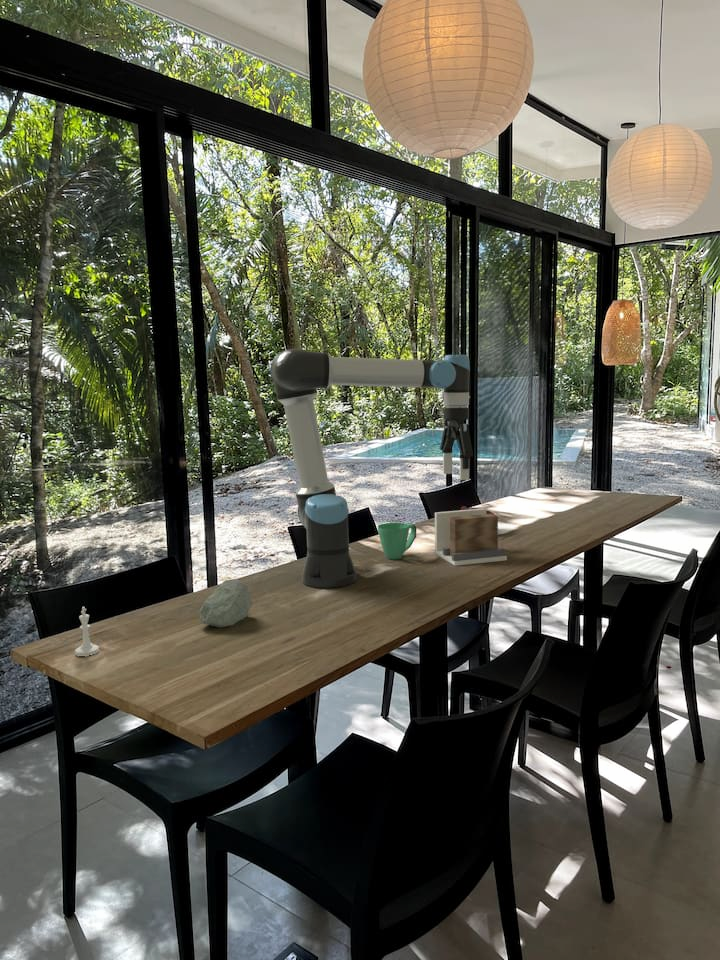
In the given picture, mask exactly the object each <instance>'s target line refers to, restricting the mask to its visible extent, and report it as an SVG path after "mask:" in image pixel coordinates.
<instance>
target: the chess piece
mask: <svg viewBox="0 0 720 960" xmlns="http://www.w3.org/2000/svg"><path fill="white" fill-rule="evenodd" d="M86 611H87V608H85V606H82V608H81V611H80V614H81V615H79V616H78V618H79V620H80V623H81V625H80V626H79V629H80V630H82V642H81V643H82V644H80V646H79V647H77V648H76V649H74V655H75V656H76V655H77V656H76V657H79V656H85V657H90V656H89V655H91V656H93V654H94V655H96V654H98V653H99V652H100V647H99V646H98V645H96V644H93V643H92V642H91V639H90V634H89V629H90V628H91V625H90V624H88V622H89V620H90V619H89V618H90V614H87V613H86Z"/></svg>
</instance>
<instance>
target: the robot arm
mask: <svg viewBox="0 0 720 960" xmlns="http://www.w3.org/2000/svg"><path fill="white" fill-rule="evenodd" d="M470 364H471V363H470V358H469V356H468V355H467V354H446V355H445V356H444V358H443V360H442V359H440V360H439V359H437V360H427V359H424V360H423V359H422V360H421V359H406V358H405V359H403V358H402V359H400V358H378V357H377V358H374V357H372V358H370V357H353V356H352V357H350V356H349V357H346V356H332V355H331V354H330V353H329V352H318V351H312V350H307V349H303V348H290V349H285V350H282V351H280V352H279V353H278V354H277V355H276V356H275V357H274V358H273V360H272V362H271V364H270V370H269V372H270V377H271V380H272V382H273V384H274V389H275V395H276V398H277V399H276V400H277V402H278V403H280V404H282V405H283V409H284V413H285V418H286V423H287V427H288V434H289V439H290V443H291V444H290V445H291V448H292V454H293V459H294V464H295V469H296V475H297V480H298V488H297V489H296V490H295V497H296V502H297V516H298V519H299V522H300V523H301V524H302V526H303V527H304V529H306V531H305V532H306V547H307V550H306V551H307V552H306V558H305V561H304V565H303V569H302V573H301V581H302V584H304V585H306V586H308V587H312V588H323V589H324V588H325V589H326V588H328V589H329V588H339V587H345V586H348V585H351V584H352V583H355V582H356V581H357V571H356V568H355V565H354V563H353V560H352V557H351V554H350V539H349V538H350V537H349V534H350V533H349V507H348V501H347V500H346V498H344V497H343V496H341V495H337V494H336V488H335V484H333V483H332V482H331V481H329V478H328V473H327V467H326V461H325V457H324V456H325V455H324V451H323V445H322V440H321V434H320V430H319V424H318V420H317V419H318V418H317V413H316V407H315V401H314V400H315V398H316V396H317V394H318V389H325V390H326V389H329V388H330V387H331V386H354V387H355V386H357V387H364V386H365V387H395V388H396V387H398V388H415V389H418V388H423V389H424V388H425V389H426V388H427V389H429V388H430V389H443V406H444V408H443V419H444V422H443V433H442V436H441V437H442V438H441V443H440V447H439V450H441V452H442V454H443V455H442V474H443V475H450V474H451V475H452V474H453V446H454V443H455V441H456V443H457V447H458V451H459V453H460V455H459V481H468V480H470V458H471V457H473V456H474V450H473V447H472V442H471V441H472V439H471V434H470V424H469V423H465V421H467V420H470V419H469V418H470V409H469V407H468V406H469V405H470V398H471V395H470V372H471V368H470V367H471V366H470Z"/></svg>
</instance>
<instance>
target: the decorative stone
mask: <svg viewBox="0 0 720 960" xmlns="http://www.w3.org/2000/svg"><path fill="white" fill-rule="evenodd" d="M252 604H253V602H252V599H251V592H250V591H249V588H248V585H247V584H245V582H242V581H241V580H239V579H237V578H232V579H226V580H224V581H222V582H221V584H220V585H219V586H218V587H216V588H215V590H214V591H213V593H212V594H211V595H209V596H208V598H207V599H206V600H205V602H204V603H203V605H202V606H201V608H200V609H199V612H198V614H199V620H200V622H201V623H202V624H204V625H209V626H210V627H214V628H218V629H219V628H222V629H223V628H226V627H232V626H234V625H235V624H236V623H238V622H241V621H243V620H244V619H245V618H247V617H248V615H249V611H250V609H251V607H252Z"/></svg>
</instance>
